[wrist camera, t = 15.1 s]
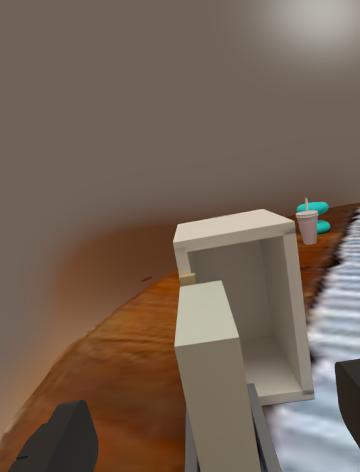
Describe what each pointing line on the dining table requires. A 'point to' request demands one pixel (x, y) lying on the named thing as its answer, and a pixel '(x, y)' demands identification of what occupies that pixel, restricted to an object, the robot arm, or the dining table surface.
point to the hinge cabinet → (254, 308)
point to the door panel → (214, 380)
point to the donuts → (321, 208)
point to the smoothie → (308, 225)
